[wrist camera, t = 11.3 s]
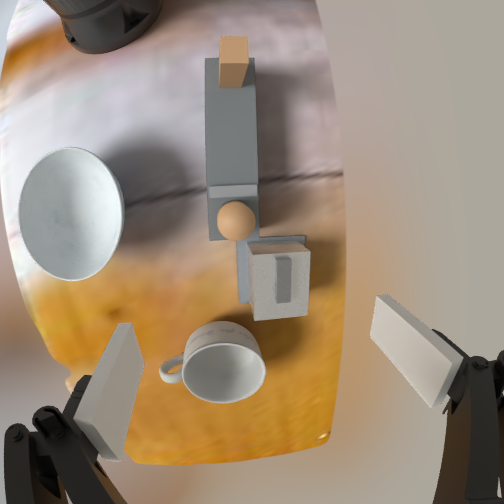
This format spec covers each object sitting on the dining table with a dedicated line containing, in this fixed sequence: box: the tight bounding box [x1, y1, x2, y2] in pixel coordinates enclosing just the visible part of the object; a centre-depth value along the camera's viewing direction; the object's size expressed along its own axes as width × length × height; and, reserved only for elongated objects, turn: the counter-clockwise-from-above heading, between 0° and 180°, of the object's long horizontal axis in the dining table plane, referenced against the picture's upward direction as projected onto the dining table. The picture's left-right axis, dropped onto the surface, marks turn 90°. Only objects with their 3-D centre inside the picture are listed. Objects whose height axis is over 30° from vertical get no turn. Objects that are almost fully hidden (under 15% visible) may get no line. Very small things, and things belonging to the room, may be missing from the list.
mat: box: [236, 235, 305, 304], centre depth 37 cm, size 9×9×1 cm
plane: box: [205, 36, 260, 241], centre depth 27 cm, size 21×6×12 cm, turn 2°
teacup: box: [159, 321, 266, 403], centre depth 35 cm, size 14×11×8 cm
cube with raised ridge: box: [246, 240, 310, 321], centre depth 34 cm, size 8×6×7 cm
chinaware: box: [18, 147, 125, 281], centre depth 28 cm, size 15×15×8 cm
